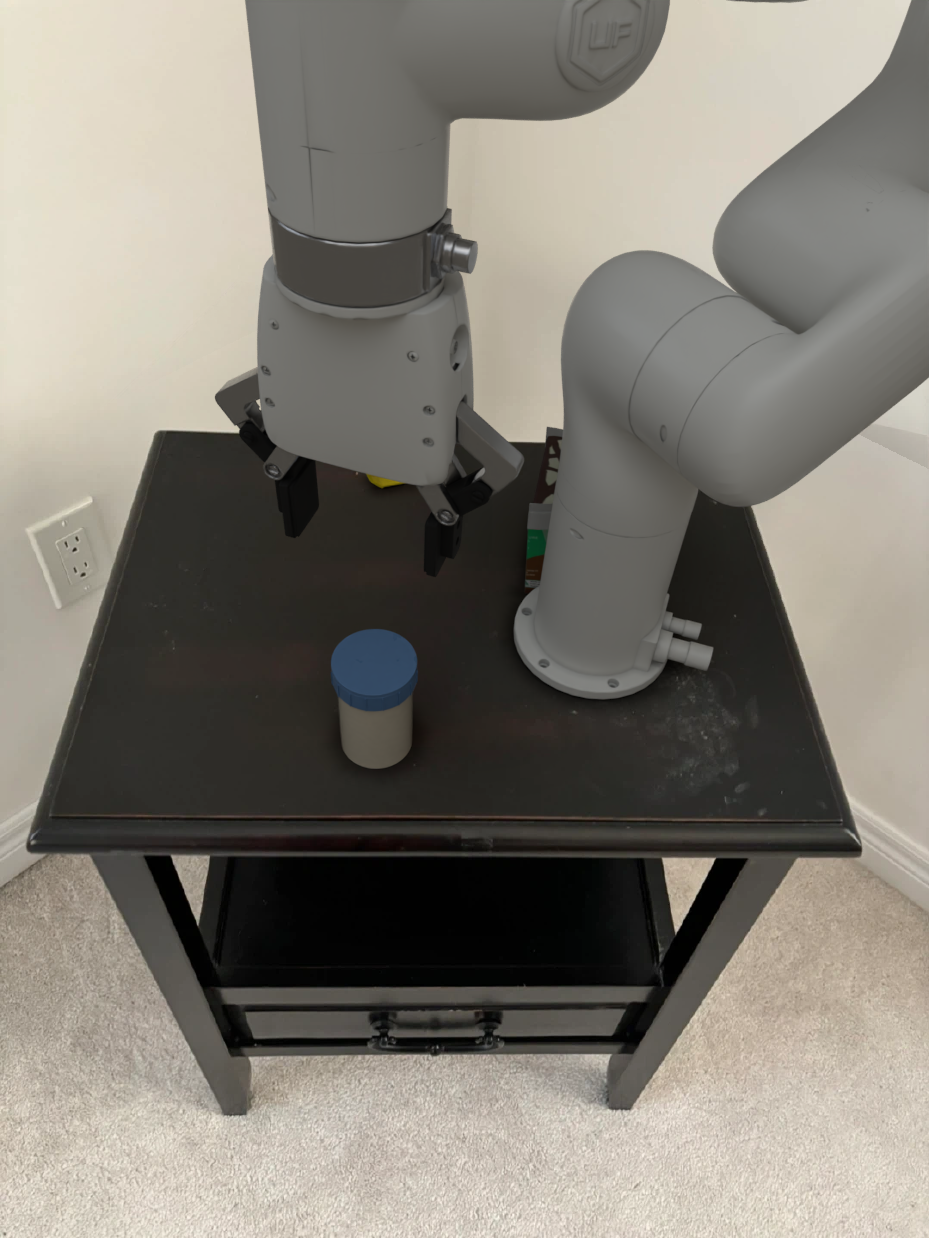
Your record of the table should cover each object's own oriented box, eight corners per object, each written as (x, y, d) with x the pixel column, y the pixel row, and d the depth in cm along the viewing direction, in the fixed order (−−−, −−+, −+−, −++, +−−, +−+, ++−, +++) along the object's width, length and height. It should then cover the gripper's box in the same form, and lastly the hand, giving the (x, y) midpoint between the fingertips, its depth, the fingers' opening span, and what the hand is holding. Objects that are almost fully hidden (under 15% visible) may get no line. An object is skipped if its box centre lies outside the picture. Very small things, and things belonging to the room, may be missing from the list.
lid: (429, 658, 64) (429, 641, 63) (399, 722, 60) (398, 706, 59) (352, 636, 65) (351, 619, 64) (317, 697, 61) (316, 680, 60)
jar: (422, 722, 69) (424, 647, 63) (397, 778, 66) (396, 705, 60) (358, 702, 70) (353, 626, 64) (329, 756, 67) (321, 682, 60)
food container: (595, 614, 77) (609, 516, 70) (522, 604, 78) (528, 507, 71) (606, 524, 86) (619, 430, 79) (540, 517, 86) (547, 423, 80)
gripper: (574, 247, 41) (533, 537, 54) (221, 175, 44) (262, 466, 57) (528, 330, 36) (494, 627, 49) (134, 243, 39) (201, 544, 53)
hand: (369, 539), depth 53 cm, fingers open, 7 cm apart
